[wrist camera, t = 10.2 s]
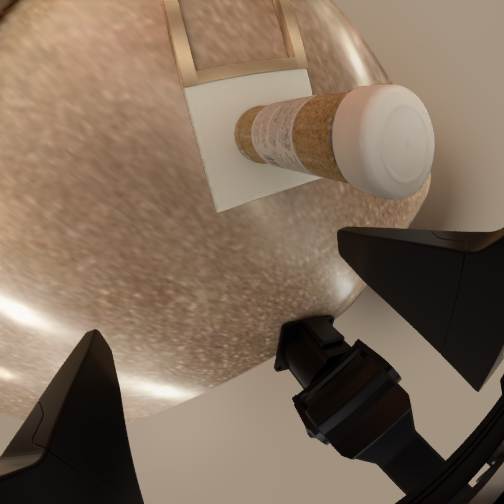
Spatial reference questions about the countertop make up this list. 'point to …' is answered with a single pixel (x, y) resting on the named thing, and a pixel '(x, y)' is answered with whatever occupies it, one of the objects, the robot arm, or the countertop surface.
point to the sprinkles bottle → (346, 138)
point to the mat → (223, 139)
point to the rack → (239, 69)
